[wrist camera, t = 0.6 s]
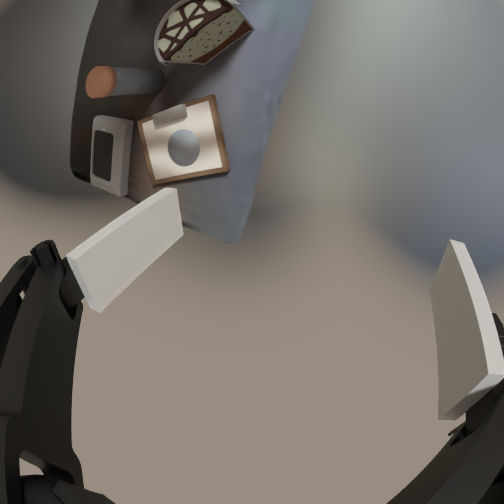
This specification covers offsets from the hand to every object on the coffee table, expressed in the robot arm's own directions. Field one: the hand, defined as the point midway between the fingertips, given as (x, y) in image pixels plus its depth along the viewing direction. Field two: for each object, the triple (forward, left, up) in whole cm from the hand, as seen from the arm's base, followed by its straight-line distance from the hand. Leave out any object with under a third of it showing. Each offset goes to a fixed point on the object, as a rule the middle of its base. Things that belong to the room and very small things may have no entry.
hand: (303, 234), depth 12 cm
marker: (-17, -26, -27) cm, 41 cm away
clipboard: (-5, -23, -27) cm, 36 cm away
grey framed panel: (-7, -40, -27) cm, 49 cm away
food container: (-21, -13, -27) cm, 37 cm away
